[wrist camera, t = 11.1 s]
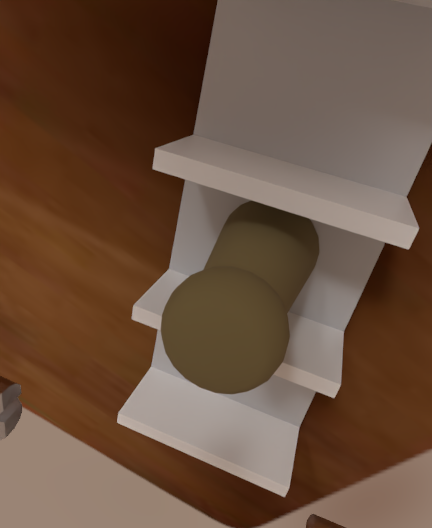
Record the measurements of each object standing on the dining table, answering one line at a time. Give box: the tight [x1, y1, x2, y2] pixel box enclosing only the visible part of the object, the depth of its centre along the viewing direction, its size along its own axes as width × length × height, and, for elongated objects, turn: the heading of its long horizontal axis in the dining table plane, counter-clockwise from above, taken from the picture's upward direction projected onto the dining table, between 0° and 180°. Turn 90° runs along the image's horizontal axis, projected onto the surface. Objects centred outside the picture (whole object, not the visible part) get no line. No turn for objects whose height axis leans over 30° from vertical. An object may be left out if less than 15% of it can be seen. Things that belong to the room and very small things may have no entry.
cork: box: [161, 200, 320, 395], centre depth 20 cm, size 6×6×11 cm
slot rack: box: [117, 0, 432, 497], centre depth 22 cm, size 28×12×6 cm, turn 167°
